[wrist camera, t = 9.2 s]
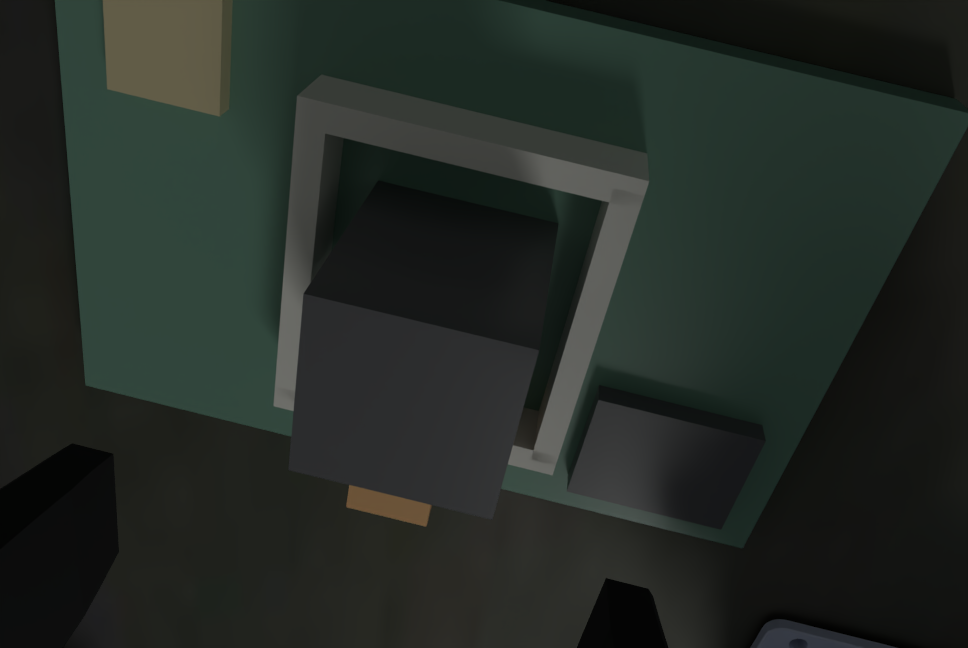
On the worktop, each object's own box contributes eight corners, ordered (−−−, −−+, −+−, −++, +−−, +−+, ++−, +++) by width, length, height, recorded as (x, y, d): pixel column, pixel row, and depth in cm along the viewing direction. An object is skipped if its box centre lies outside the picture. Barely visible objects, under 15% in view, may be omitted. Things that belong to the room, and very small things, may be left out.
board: (955, 99, 16) (1005, 141, 14) (738, 521, 23) (749, 593, 21) (75, -113, 17) (-4, -101, 15) (105, 364, 23) (53, 419, 21)
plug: (558, 223, 18) (539, 350, 14) (514, 390, 20) (486, 541, 16) (378, 180, 18) (303, 293, 14) (355, 352, 20) (286, 492, 16)
